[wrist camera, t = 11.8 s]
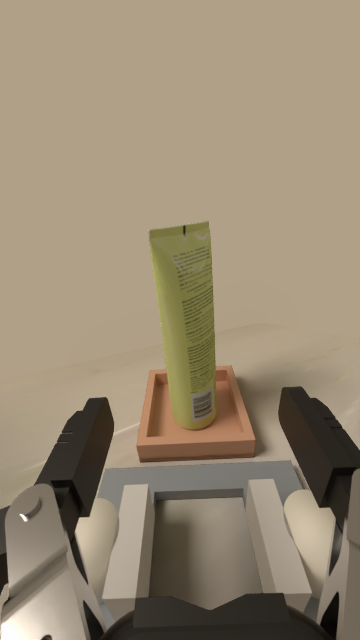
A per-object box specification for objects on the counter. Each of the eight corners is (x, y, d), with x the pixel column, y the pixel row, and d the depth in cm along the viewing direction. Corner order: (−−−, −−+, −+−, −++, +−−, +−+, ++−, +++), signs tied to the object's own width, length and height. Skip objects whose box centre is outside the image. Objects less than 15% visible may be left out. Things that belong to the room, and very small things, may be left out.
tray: (140, 462, 22) (136, 445, 21) (152, 384, 31) (149, 370, 30) (253, 457, 22) (255, 439, 21) (231, 380, 31) (231, 365, 30)
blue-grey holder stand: (26, 763, 10) (-27, 756, 8) (105, 477, 21) (91, 439, 19) (416, 761, 10) (475, 752, 8) (292, 468, 20) (301, 429, 18)
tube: (170, 394, 29) (150, 223, 20) (211, 390, 29) (208, 218, 20) (172, 435, 24) (147, 229, 15) (222, 429, 24) (225, 222, 15)
